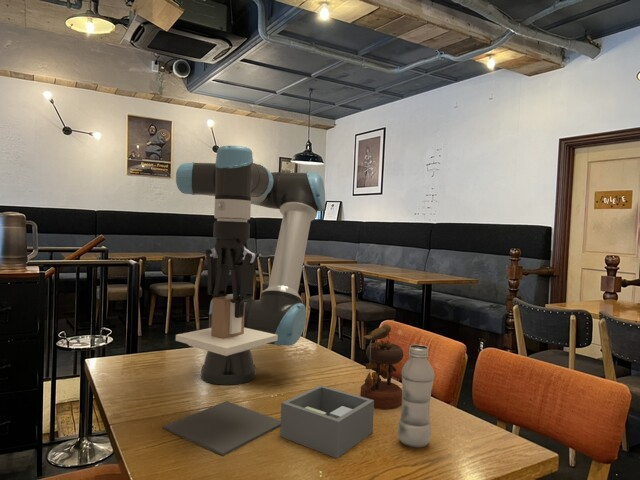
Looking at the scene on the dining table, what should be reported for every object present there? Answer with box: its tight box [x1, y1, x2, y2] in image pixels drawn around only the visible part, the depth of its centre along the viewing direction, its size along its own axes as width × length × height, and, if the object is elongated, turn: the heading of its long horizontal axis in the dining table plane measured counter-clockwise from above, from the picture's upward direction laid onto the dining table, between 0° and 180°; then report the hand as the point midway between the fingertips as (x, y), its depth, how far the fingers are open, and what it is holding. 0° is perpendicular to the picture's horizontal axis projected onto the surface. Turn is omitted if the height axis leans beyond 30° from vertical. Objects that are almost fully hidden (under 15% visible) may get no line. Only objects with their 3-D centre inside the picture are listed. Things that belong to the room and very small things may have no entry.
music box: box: [359, 323, 404, 410], centre depth 117 cm, size 15×11×20 cm
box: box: [279, 384, 375, 459], centre depth 96 cm, size 14×14×7 cm
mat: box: [162, 400, 281, 457], centre depth 98 cm, size 18×18×1 cm
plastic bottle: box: [397, 344, 435, 448], centre depth 94 cm, size 6×7×20 cm
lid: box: [175, 295, 278, 356], centre depth 98 cm, size 15×15×10 cm
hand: (228, 330), depth 98 cm, fingers closed on lid, 3 cm apart
